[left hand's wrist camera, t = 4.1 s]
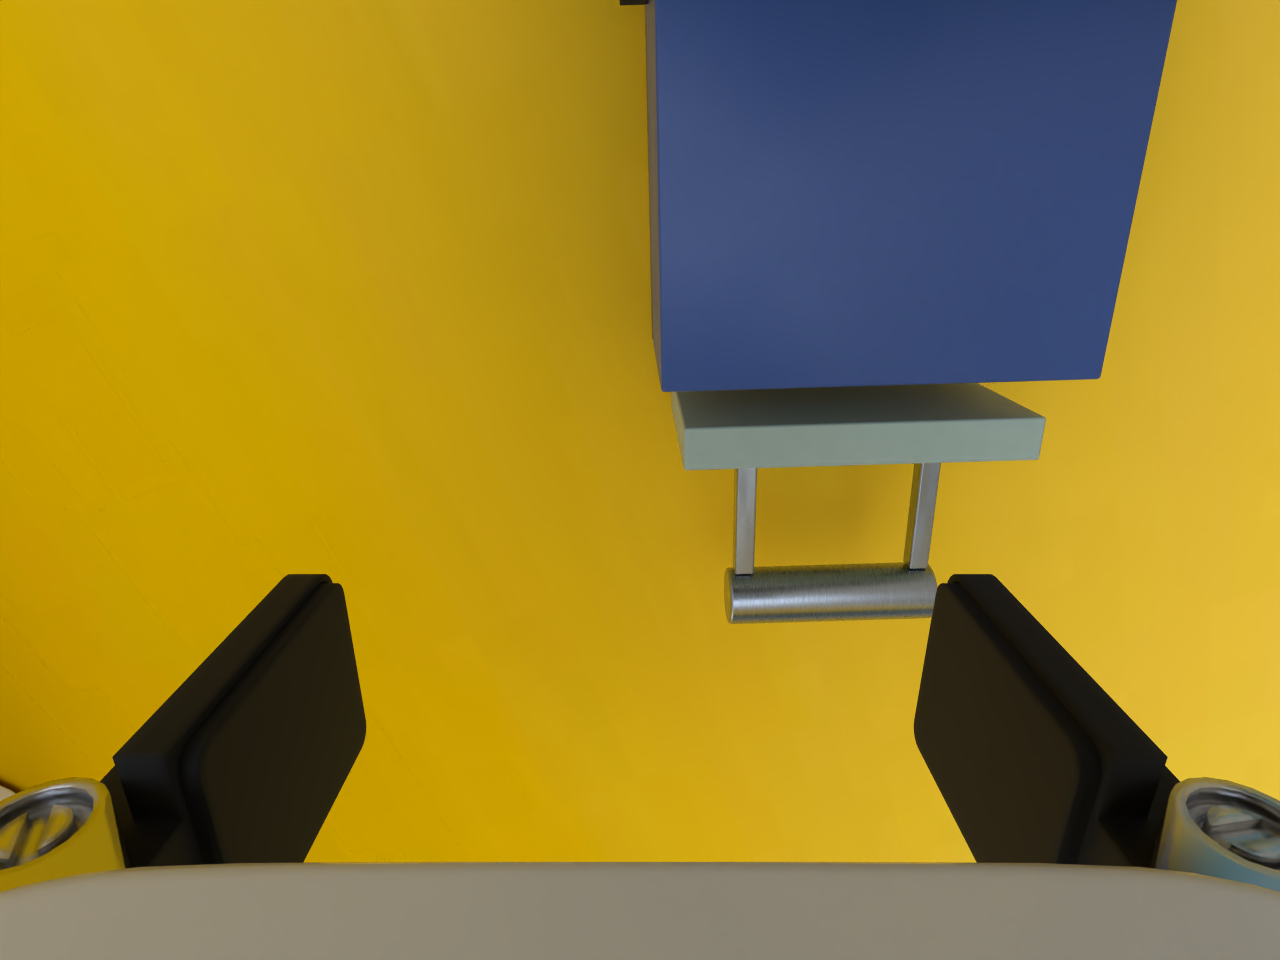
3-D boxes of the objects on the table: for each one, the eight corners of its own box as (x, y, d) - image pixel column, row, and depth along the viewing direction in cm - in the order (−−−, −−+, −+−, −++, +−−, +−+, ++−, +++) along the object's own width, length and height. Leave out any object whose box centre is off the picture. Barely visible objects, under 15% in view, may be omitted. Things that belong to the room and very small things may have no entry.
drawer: (922, 555, 27) (1004, 653, 21) (673, 562, 27) (685, 662, 21) (994, -22, 21) (1144, -117, 15) (666, -12, 21) (680, -103, 15)
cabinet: (956, 327, 25) (1101, 380, 17) (652, 336, 25) (661, 393, 17) (1019, -161, 20) (1259, -391, 13) (641, -150, 20) (647, -372, 13)
